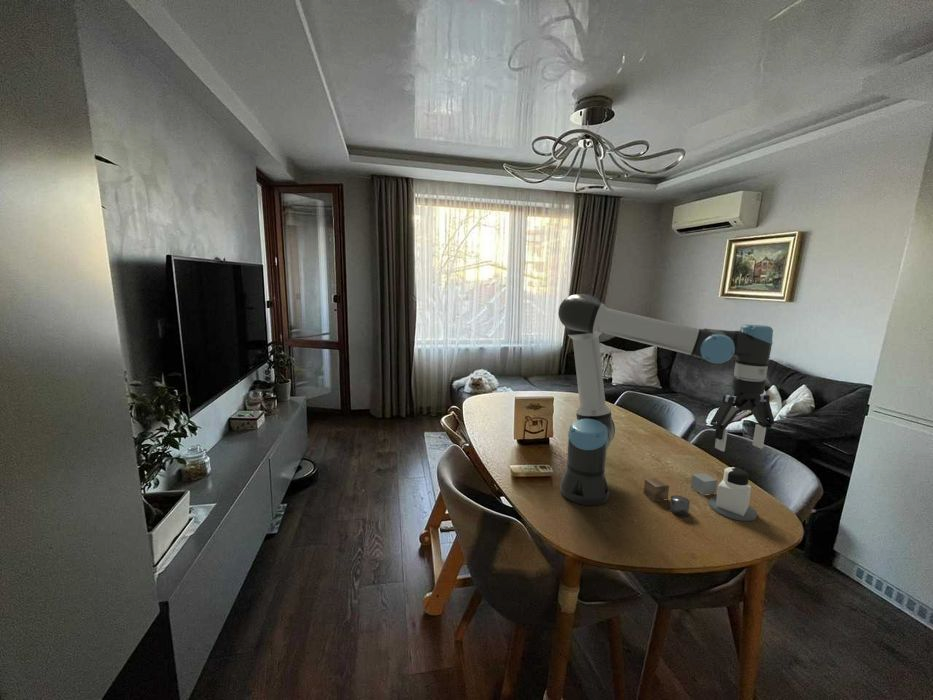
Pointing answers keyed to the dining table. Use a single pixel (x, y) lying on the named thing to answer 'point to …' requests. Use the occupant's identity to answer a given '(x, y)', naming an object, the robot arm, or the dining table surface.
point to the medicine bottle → (734, 491)
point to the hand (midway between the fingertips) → (738, 448)
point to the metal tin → (679, 505)
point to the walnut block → (656, 489)
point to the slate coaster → (748, 516)
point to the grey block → (703, 483)
